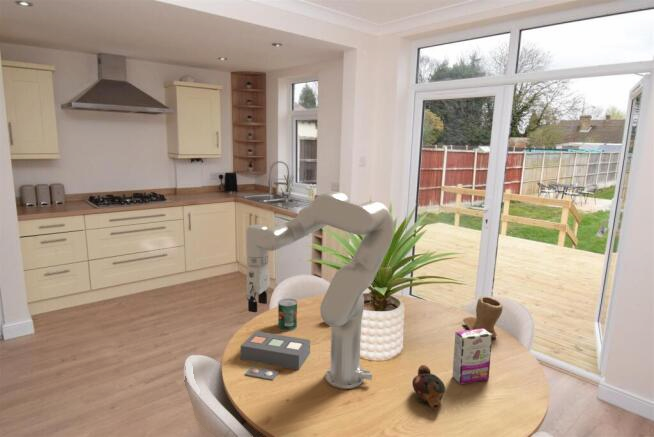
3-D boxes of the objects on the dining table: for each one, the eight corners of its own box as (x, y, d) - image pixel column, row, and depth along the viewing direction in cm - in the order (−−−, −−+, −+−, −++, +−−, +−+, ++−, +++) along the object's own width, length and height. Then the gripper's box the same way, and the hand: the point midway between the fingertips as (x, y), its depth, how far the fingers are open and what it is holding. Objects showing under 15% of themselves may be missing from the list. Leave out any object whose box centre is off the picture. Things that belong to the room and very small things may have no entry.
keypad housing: (310, 353, 150) (310, 339, 149) (298, 370, 139) (299, 355, 138) (255, 344, 156) (255, 331, 155) (240, 359, 145) (240, 345, 144)
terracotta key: (266, 344, 150) (266, 338, 150) (261, 349, 146) (261, 343, 146) (255, 342, 151) (255, 336, 151) (250, 347, 147) (250, 341, 147)
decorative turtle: (432, 383, 133) (435, 361, 131) (452, 416, 118) (456, 392, 116) (403, 383, 131) (406, 361, 129) (420, 417, 117) (424, 393, 115)
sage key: (284, 346, 148) (284, 340, 148) (279, 352, 144) (279, 346, 144) (272, 345, 150) (272, 339, 149) (267, 350, 145) (267, 344, 145)
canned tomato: (274, 326, 172) (274, 301, 170) (289, 321, 177) (289, 297, 175) (285, 332, 166) (285, 307, 164) (300, 327, 171) (301, 302, 169)
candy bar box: (479, 372, 140) (483, 327, 137) (489, 380, 135) (493, 334, 132) (450, 376, 137) (454, 331, 134) (459, 384, 132) (463, 337, 129)
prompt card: (278, 372, 137) (278, 370, 137) (272, 380, 132) (272, 378, 132) (251, 367, 140) (251, 365, 140) (244, 375, 135) (244, 373, 135)
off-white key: (302, 349, 146) (302, 343, 146) (297, 355, 142) (297, 349, 142) (290, 348, 148) (290, 341, 147) (286, 353, 143) (286, 347, 143)
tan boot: (504, 340, 163) (508, 305, 161) (475, 340, 163) (478, 305, 160) (488, 324, 178) (492, 291, 175) (462, 323, 178) (464, 291, 175)
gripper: (256, 268, 134) (256, 318, 137) (277, 254, 150) (277, 300, 153) (235, 265, 136) (236, 315, 139) (258, 252, 152) (258, 297, 155)
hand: (257, 307), depth 146 cm, fingers open, 7 cm apart
